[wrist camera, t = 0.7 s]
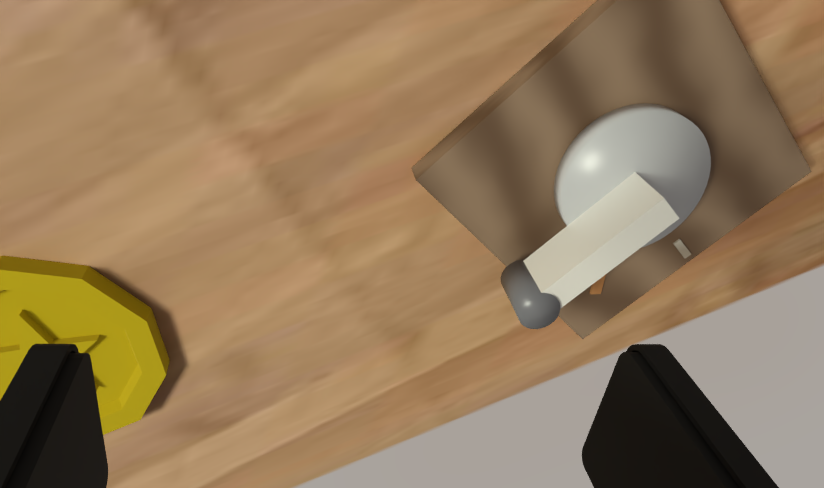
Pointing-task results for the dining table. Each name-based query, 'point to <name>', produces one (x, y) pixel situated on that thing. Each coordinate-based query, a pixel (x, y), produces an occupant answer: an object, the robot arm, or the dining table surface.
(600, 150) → the dial
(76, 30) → the dining table surface
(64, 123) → the dining table surface
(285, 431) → the dining table surface
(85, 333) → the decorative disc
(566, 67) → the dial plate
